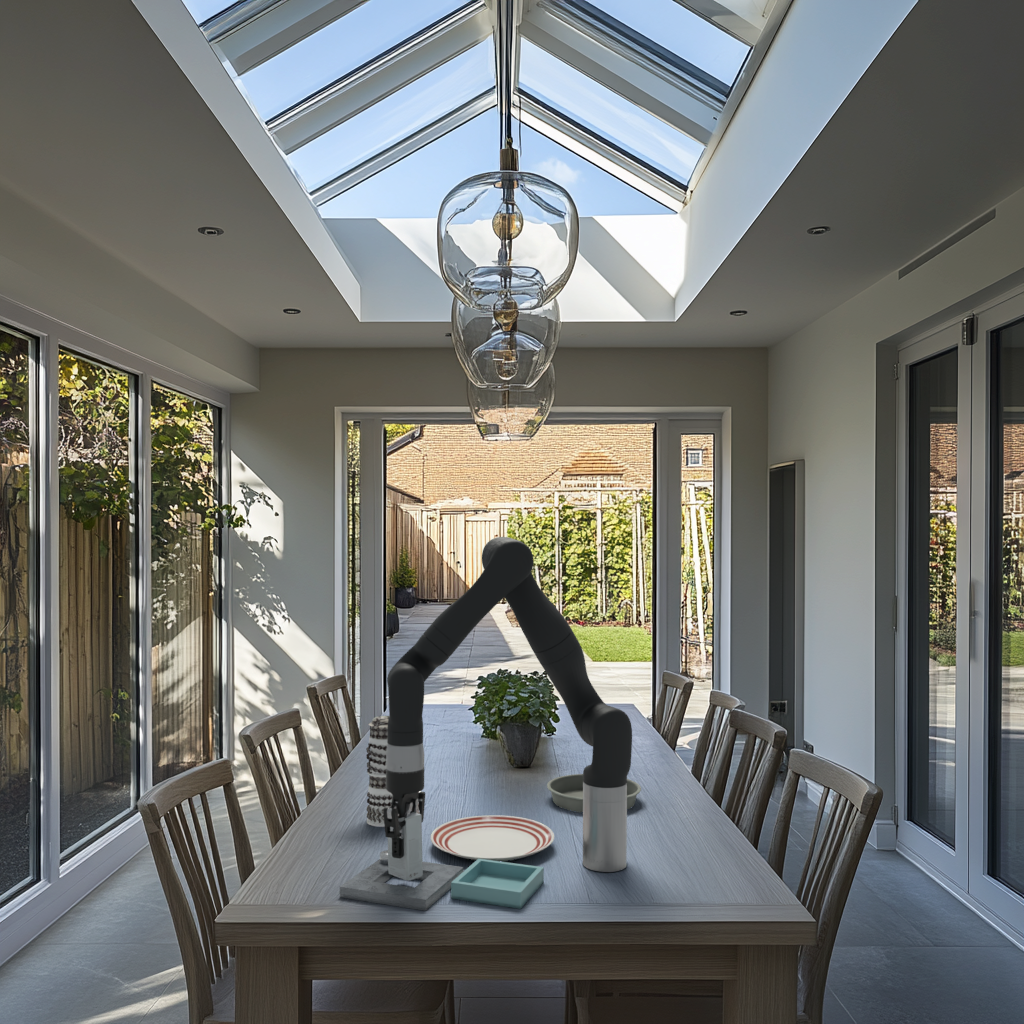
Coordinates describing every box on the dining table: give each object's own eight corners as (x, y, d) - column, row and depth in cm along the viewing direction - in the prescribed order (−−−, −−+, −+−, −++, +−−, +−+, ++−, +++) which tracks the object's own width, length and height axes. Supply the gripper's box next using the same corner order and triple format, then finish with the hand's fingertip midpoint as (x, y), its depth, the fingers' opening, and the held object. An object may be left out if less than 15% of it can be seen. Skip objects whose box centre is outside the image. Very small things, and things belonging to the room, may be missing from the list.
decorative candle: (408, 825, 218) (409, 719, 218) (369, 829, 214) (371, 722, 215) (398, 814, 226) (399, 712, 227) (361, 818, 223) (362, 715, 224)
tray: (478, 873, 186) (478, 858, 186) (543, 882, 181) (543, 867, 182) (450, 898, 173) (451, 882, 173) (520, 908, 168) (520, 892, 168)
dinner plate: (542, 875, 186) (543, 859, 186) (414, 864, 192) (414, 848, 192) (562, 833, 213) (562, 819, 213) (449, 825, 218) (449, 811, 219)
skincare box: (423, 876, 178) (424, 813, 179) (406, 882, 175) (406, 818, 175) (403, 868, 182) (403, 807, 183) (385, 874, 179) (386, 812, 180)
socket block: (383, 865, 190) (384, 848, 190) (463, 877, 184) (463, 859, 184) (339, 897, 173) (339, 878, 173) (425, 910, 167) (425, 890, 167)
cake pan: (536, 811, 230) (536, 793, 231) (559, 786, 254) (559, 770, 254) (632, 820, 223) (632, 802, 223) (647, 794, 247) (647, 777, 247)
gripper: (406, 776, 171) (405, 867, 171) (437, 759, 185) (437, 843, 184) (370, 772, 174) (370, 862, 173) (404, 756, 187) (404, 839, 187)
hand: (404, 852), depth 179 cm, fingers closed on skincare box, 5 cm apart
